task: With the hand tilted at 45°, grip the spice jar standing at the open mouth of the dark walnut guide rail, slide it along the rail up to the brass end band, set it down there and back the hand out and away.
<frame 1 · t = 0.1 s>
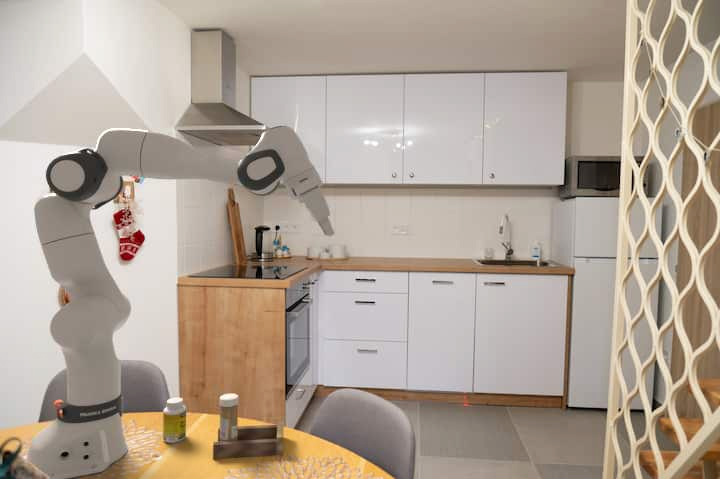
hand: (330, 234, 117), 54 cm above the table, tool tilted 30°, fingers open, 8 cm apart
supplement bottle: (174, 439, 119), on the table
guide rail: (244, 448, 115), on the table
spice jar: (228, 449, 115), on the table
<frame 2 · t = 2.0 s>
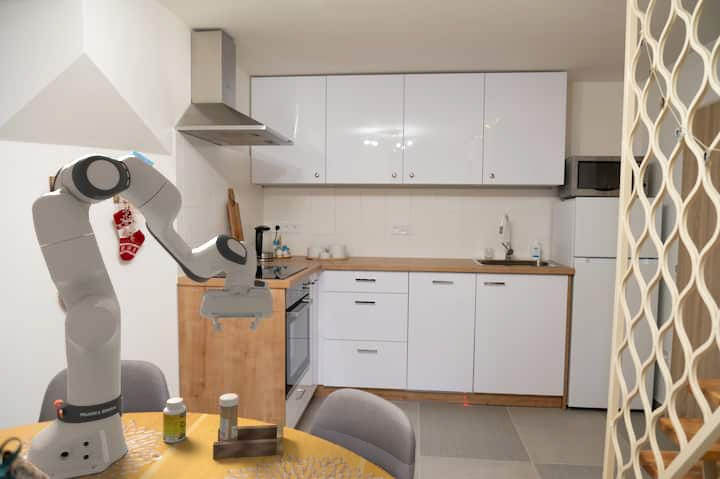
hand: (235, 329, 126), 27 cm above the table, tool tilted 45°, fingers open, 8 cm apart
nothing on the table moved.
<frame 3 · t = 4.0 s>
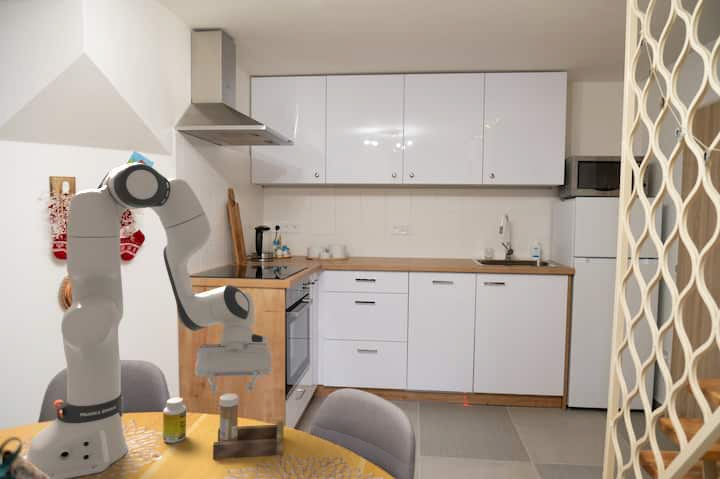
hand: (232, 390, 120), 13 cm above the table, tool tilted 45°, fingers open, 8 cm apart
nothing on the table moved.
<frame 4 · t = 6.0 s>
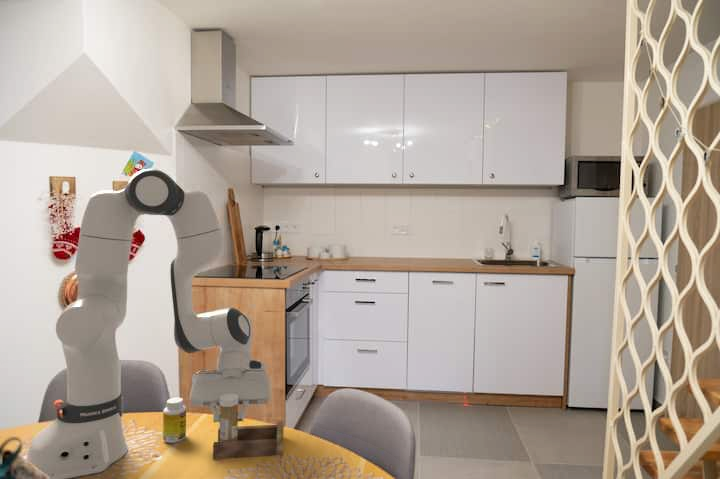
hand: (228, 421, 114), 7 cm above the table, tool tilted 45°, fingers closed on spice jar, 4 cm apart
spice jar: (228, 449, 115), on the table, touching gripper
everything else where it was.
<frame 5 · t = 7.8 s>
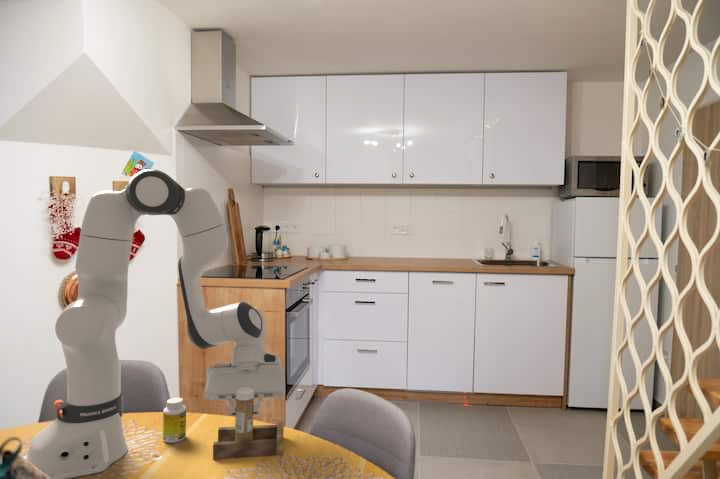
hand: (244, 413, 114), 9 cm above the table, tool tilted 45°, fingers closed on spice jar, 4 cm apart
spice jar: (243, 442, 115), point 1 cm above the table, touching gripper
everything else where it was.
when the fingers open (8 cm above the table, at t = 10.0 s): spice jar stays where it is, on the table.
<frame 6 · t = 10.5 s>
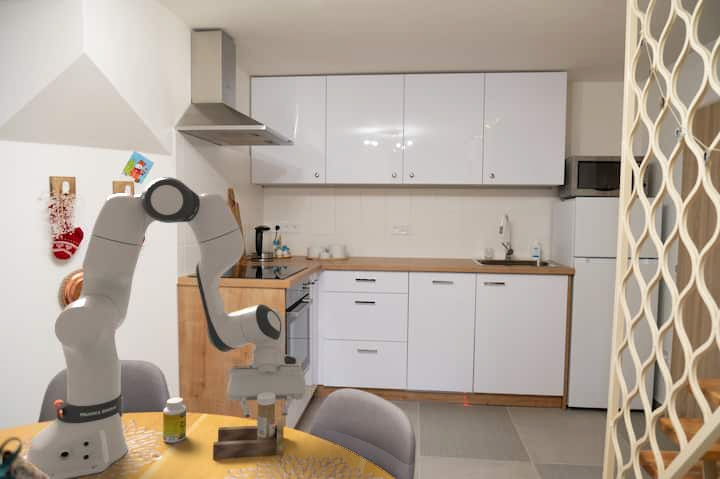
hand: (266, 415, 115), 8 cm above the table, tool tilted 45°, fingers open, 8 cm apart
spice jar: (265, 447, 116), on the table
everything else where it was.
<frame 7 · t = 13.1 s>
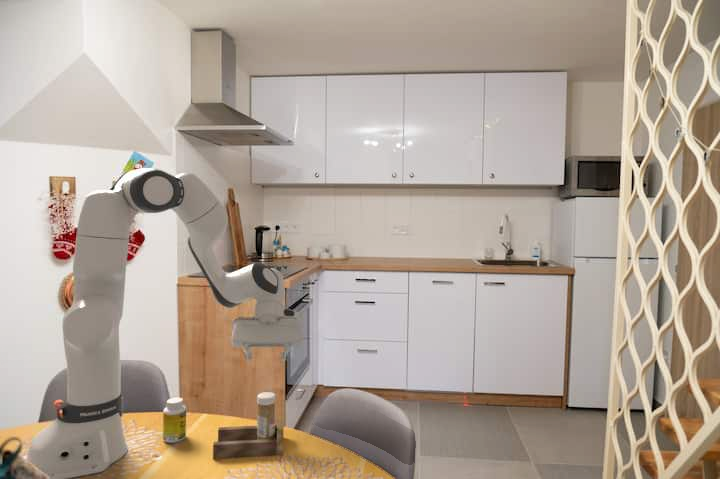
hand: (266, 359, 128), 19 cm above the table, tool tilted 45°, fingers open, 8 cm apart
nothing on the table moved.
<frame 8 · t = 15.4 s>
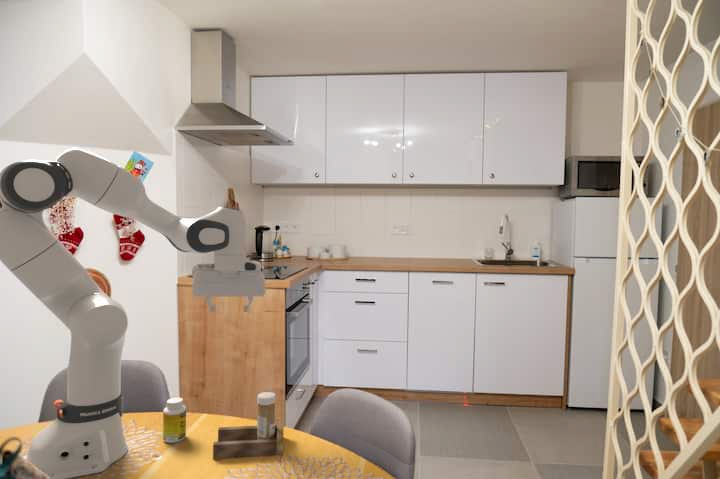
hand: (229, 311, 131), 31 cm above the table, tool pointing down, fingers open, 8 cm apart
nothing on the table moved.
at the end: spice jar 0.1 cm from the target spot, on the table; spice jar tilted 0°; the gripper is holding nothing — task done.
